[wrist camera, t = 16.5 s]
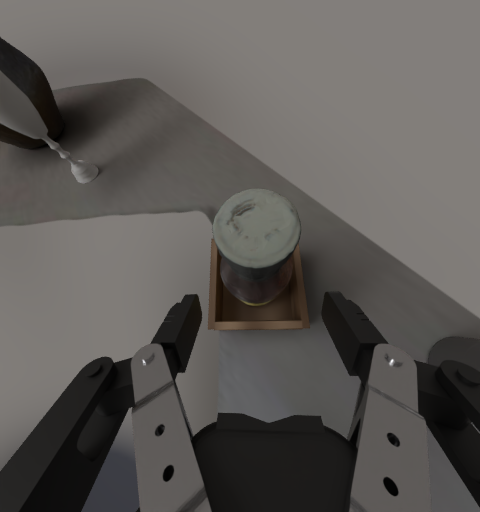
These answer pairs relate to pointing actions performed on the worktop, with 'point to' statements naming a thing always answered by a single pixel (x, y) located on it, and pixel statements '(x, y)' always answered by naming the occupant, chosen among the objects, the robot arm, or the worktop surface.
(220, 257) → the open wooden box
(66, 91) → the worktop surface
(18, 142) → the pitcher
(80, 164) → the chalice
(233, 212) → the sauce bottle
